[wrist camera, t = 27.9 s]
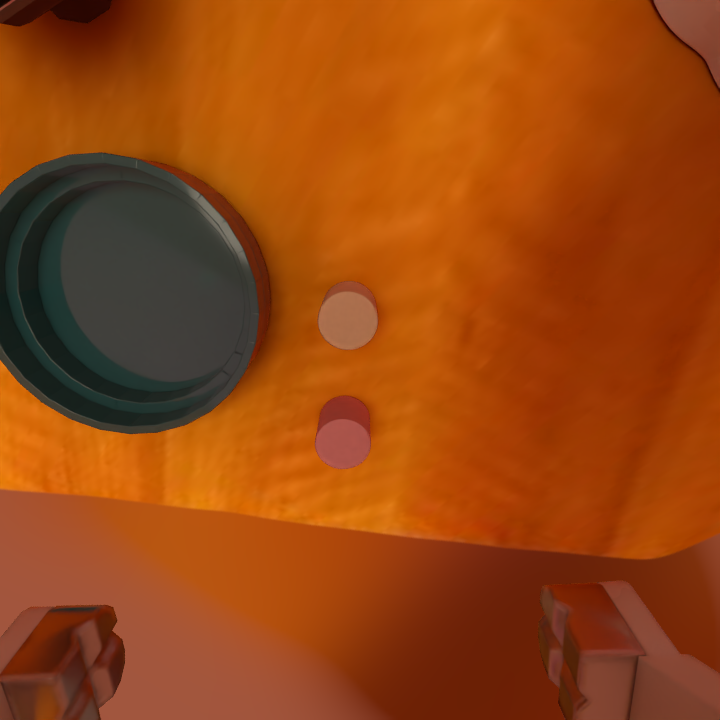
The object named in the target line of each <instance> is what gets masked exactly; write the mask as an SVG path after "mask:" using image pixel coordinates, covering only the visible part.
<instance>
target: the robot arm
mask: <svg viewBox="0 0 720 720" xmlns="http://www.w3.org/2000/svg"><path fill="white" fill-rule="evenodd" d="M653 1H654V4H655V6H656V8H657V10H658V12H659V14H660V15H661V17H662V18H663V20H664V21H665V23H666V24H667V25H668V27H669V28H670V29H671V30H672V31H673V32H674V33H675V35H677V36H678V37H679V38H680V39H681V40H682V41H683V42H685V43H686V44H687V45H689V46H690V47H691V48H693V49H694V50H695V51H697V52H698V53H699V54H700V55H701V56H702V57H703V58H704V59H705V60H706V62H707V65H708V67H709V69H710V71H711V73H712V76H713V78H714V80H715V82H716V84H717V85H718V87H719V89H720V0H653ZM540 604H541V606H542V609H543V611H544V613H545V615H544V616H543V617H542V619H541V620H540V621H539V624H538V626H539V627H538V639H539V646H540V653H541V657H542V661H543V664H544V667H545V670H546V672H547V675H548V678H549V679H550V680H551V681H552V682H553V683H555V684H556V685H557V686H558V687H559V700H558V703H559V706H560V708H561V711H562V713H563V715H564V718H565V720H720V674H719V673H717V672H716V671H715V670H713V669H712V668H710V667H708V666H706V665H705V664H704V663H702V662H700V661H699V660H697V659H696V658H694V657H693V656H691V655H680V653H679V652H678V650H677V649H676V648H675V646H674V645H673V643H672V642H671V641H670V639H669V638H668V636H667V635H666V634H665V632H664V631H663V630H662V628H661V627H660V625H659V624H658V623H657V621H656V620H655V618H654V617H653V616H652V614H651V613H650V611H649V610H648V609H647V607H646V606H645V604H644V603H643V602H642V600H641V599H640V597H639V596H638V595H637V593H636V592H635V591H634V589H633V588H632V586H631V585H630V584H629V583H627V582H626V581H610V582H597V583H580V584H562V585H543V587H542V590H541V596H540ZM116 623H117V618H116V615H115V611H114V608H113V607H111V606H108V605H75V606H56V607H30V608H28V609H26V610H25V611H23V612H21V614H20V615H19V616H18V617H17V618H16V620H15V621H14V622H13V623H12V624H11V626H10V627H9V628H8V629H7V630H6V631H5V633H4V634H3V635H2V636H1V638H0V720H101V718H100V714H99V708H100V707H101V706H103V705H104V704H105V703H106V702H107V701H108V700H110V699H111V698H112V697H113V696H114V694H115V692H116V690H117V687H118V685H119V683H120V681H121V677H122V673H123V669H124V664H125V649H124V645H123V641H122V639H121V638H120V637H119V636H118V635H116V634H115V633H114V632H113V631H112V630H113V628H114V626H115V624H116Z"/></svg>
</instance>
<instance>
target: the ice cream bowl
mask: <svg viewBox="0 0 720 720" xmlns="http://www.w3.org/2000/svg"><path fill="white" fill-rule="evenodd" d="M111 1H112V0H0V23H1V24H7V25H13V26H22V25H25V24H27V23H30V22H32V21H33V20H35V19H36V18H38V17H39V16H41V15H42V14H44V13H45V12H47V11H48V10H51V11H52V12H53V13H54V14H55V15H56V16H57V17H58V18H59V19H64V20H70V21H76V22H82V23H88V22H90V21H91V20H93V19H94V18H96V17H97V16H99V15H100V14H102V13H104V12H105V11H107V10H108V9H109V8H110V4H111Z"/></svg>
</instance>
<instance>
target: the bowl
mask: <svg viewBox="0 0 720 720" xmlns="http://www.w3.org/2000/svg"><path fill="white" fill-rule="evenodd" d="M270 300H271V298H270V289H269V280H268V273H267V269H266V266H265V263H264V260H263V258H262V255H261V252H260V249H259V246H258V245H257V242H256V240H255V239H254V237H253V235H252V234H251V232H250V230H249V229H248V227H247V225H246V224H245V222H244V220H243V219H242V217H241V216H240V215H239V214H238V213H237V212H236V211H235V210H234V209H233V207H232V206H231V205H230V204H229V203H228V202H227V201H226V200H225V199H224V198H223V197H222V196H221V195H220V194H219V193H218V192H216V191H215V190H213V189H212V188H210V187H209V186H208V185H206V184H205V183H203V182H202V181H201V180H199V179H198V178H196V177H194V176H193V175H190V174H188V173H186V172H183V171H181V170H178V169H176V168H174V167H171V166H169V165H167V164H163V163H158V162H153V161H147V160H142V159H137V158H131V157H125V156H120V155H114V154H108V153H87V154H71V155H66V156H63V157H60V158H57V159H54V160H51V161H48V162H45V163H42V164H39V165H38V166H35V167H34V168H32V169H31V170H29V171H28V172H26V173H25V174H23V175H22V176H20V177H19V178H17V179H16V180H14V181H13V182H11V183H10V184H9V185H8V187H7V188H6V189H5V190H4V191H3V192H2V194H1V195H0V360H1V361H2V362H3V364H4V365H5V366H6V367H7V369H8V370H9V371H10V372H11V374H12V375H13V376H14V377H15V379H16V380H17V381H18V382H19V383H20V384H21V385H22V386H23V387H25V388H26V389H27V390H28V391H29V392H30V393H32V394H33V395H34V396H35V397H36V398H37V399H39V400H40V401H41V402H42V403H44V404H45V405H47V406H49V407H50V408H52V409H54V410H56V411H57V412H59V413H61V414H63V415H64V416H66V417H68V418H69V419H72V420H74V421H77V422H80V423H83V424H86V425H88V426H91V427H94V428H97V429H100V430H106V431H113V432H120V433H126V434H138V433H157V432H161V431H165V430H169V429H173V428H176V427H180V426H184V425H186V424H188V423H190V422H192V421H194V420H196V419H198V418H200V417H201V416H203V415H205V414H207V413H209V412H210V411H212V410H213V409H214V408H215V407H216V406H217V405H218V404H220V403H221V402H222V401H223V400H224V399H225V398H226V397H227V396H228V395H230V393H231V392H232V391H233V389H234V388H235V386H236V385H237V383H238V382H239V380H240V379H241V377H242V376H243V374H244V373H245V372H246V370H247V369H248V367H249V366H250V364H251V363H252V361H253V360H254V358H255V357H256V355H257V354H258V352H259V350H260V347H261V344H262V342H263V339H264V336H265V334H266V331H267V327H268V320H269V312H270V303H271V301H270Z"/></svg>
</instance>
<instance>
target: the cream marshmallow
mask: <svg viewBox="0 0 720 720" xmlns="http://www.w3.org/2000/svg"><path fill="white" fill-rule="evenodd" d="M318 326H319V330H320V332H321V334H322V336H323V337H324V339H325V340H326V341H327V342H328V343H330V344H331V345H332V346H334V347H337V348H339V349H344V350H352V349H357V348H360V347H362V346H364V345H365V344H367V343H368V342H369V341H370V340H371V339H372V338H373V336H374V334H375V332H376V330H377V326H378V315H377V308H376V302H375V299H374V296H373V295H372V293H371V292H370V290H369V289H368V288H367V287H365V286H364V285H362V284H360V283H358V282H353V281H345V282H341V283H338V284H336V285H334V286H333V287H332V288H331V289H330V290H329V291H328V292H327V294H326V295H325V297H324V300H323V303H322V305H321V308H320V311H319V314H318Z"/></svg>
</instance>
